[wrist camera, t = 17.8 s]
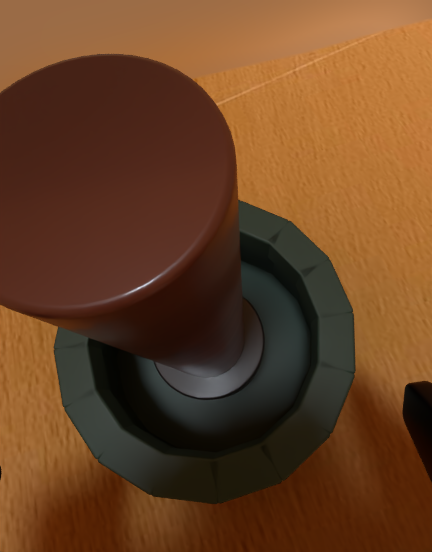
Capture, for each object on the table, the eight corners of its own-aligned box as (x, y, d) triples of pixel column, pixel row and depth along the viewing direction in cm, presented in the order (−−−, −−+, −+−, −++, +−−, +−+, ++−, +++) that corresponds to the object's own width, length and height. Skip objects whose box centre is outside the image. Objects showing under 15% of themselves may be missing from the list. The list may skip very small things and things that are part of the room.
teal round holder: (354, 303, 16) (399, 265, 11) (265, 514, 14) (276, 577, 9) (175, 223, 18) (149, 161, 13) (72, 396, 16) (-4, 398, 11)
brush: (281, 357, 15) (437, 188, 3) (204, 420, 15) (-29, 561, 2) (222, 285, 16) (145, -59, 4) (149, 341, 16) (-204, 145, 3)
